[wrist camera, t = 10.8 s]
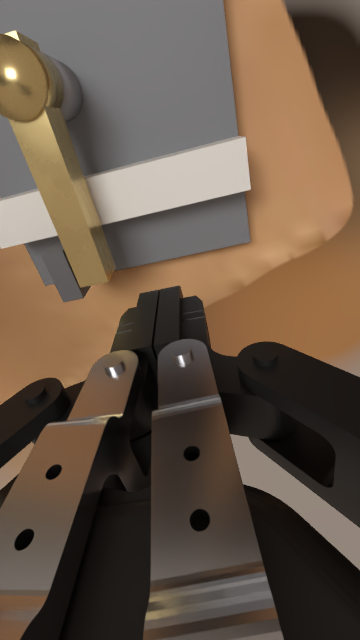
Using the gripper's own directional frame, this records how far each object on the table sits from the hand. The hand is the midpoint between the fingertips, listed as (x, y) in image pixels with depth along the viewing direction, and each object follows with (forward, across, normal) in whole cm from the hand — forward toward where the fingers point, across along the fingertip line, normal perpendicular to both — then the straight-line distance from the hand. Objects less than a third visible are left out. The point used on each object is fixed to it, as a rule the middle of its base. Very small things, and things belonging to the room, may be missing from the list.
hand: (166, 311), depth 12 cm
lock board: (+16, +3, -7) cm, 18 cm away
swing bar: (+11, +6, -5) cm, 13 cm away
